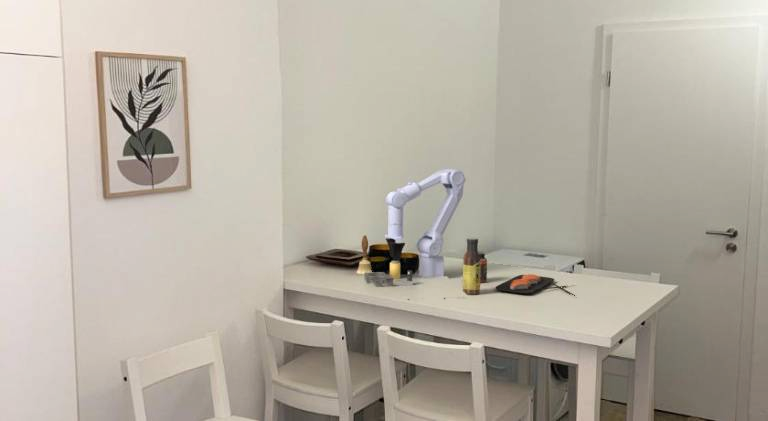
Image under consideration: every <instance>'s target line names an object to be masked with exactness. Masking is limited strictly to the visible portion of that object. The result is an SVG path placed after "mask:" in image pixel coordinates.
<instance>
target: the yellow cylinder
mask: <svg viewBox="0 0 768 421" xmlns="http://www.w3.org/2000/svg"><path fill="white" fill-rule="evenodd" d="M389 276H392V278H393V280H401V262H400V261H394V260H391V262H389Z"/></svg>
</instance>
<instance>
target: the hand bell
mask: <svg viewBox="0 0 768 421" xmlns="http://www.w3.org/2000/svg"><path fill="white" fill-rule="evenodd" d="M361 248H362V260H361V261H359V263H358V269H357V270H356V272H355V273H356V274H359V275H365V273H373V272H374V271H373V269H372V264H371V261H369V260H368V250H369V240H368V238H367V235H363V236H362V240H361ZM371 269H372V270H371ZM372 271H373V272H372Z"/></svg>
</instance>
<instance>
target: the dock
mask: <svg viewBox="0 0 768 421" xmlns="http://www.w3.org/2000/svg"><path fill="white" fill-rule="evenodd" d="M363 279H364V281H365V282H366V283H367V284H373V285H374V287H375V288H382V287H383V284H384V285H385V287H387V288H388V287H390V288H391V287H394V285H393V280H394V279H393V278H392V276H390V275H387V274H386V272H384V271H382V272H381V271H378V272H377V271H376V272H375V271H373V273H365V274H364V278H363Z"/></svg>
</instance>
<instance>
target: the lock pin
mask: <svg viewBox="0 0 768 421" xmlns="http://www.w3.org/2000/svg"><path fill="white" fill-rule="evenodd" d="M406 274H407V275H406V276H407V277H406V279H393V286H413V284H414V283H413V282H414V281H413V270H407V273H406Z"/></svg>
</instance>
